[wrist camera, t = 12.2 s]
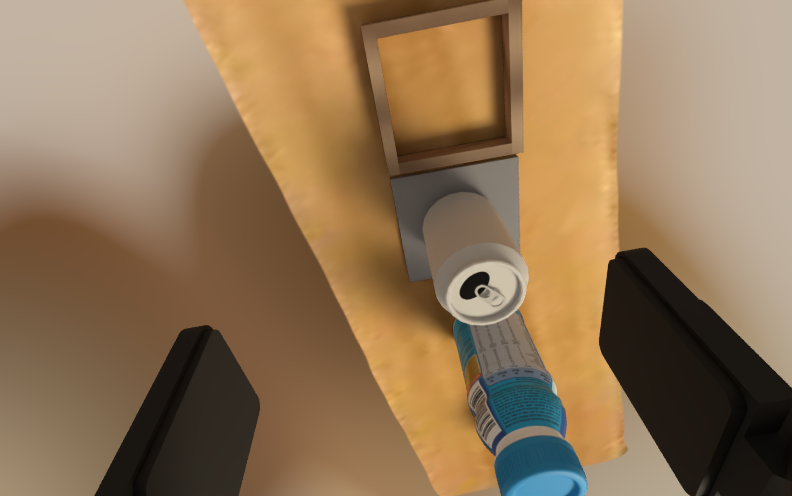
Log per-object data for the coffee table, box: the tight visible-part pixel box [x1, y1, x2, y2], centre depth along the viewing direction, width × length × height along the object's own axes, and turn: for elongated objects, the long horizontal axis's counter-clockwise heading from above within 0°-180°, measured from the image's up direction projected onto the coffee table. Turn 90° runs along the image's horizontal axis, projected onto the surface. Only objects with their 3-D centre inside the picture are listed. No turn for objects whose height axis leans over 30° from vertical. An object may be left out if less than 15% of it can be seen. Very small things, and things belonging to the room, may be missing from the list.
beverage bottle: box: [453, 309, 588, 496], centre depth 41 cm, size 8×8×20 cm
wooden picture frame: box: [361, 0, 524, 176], centre depth 35 cm, size 12×12×2 cm
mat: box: [390, 156, 520, 282], centre depth 42 cm, size 12×12×1 cm
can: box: [422, 192, 529, 325], centre depth 37 cm, size 8×8×12 cm
